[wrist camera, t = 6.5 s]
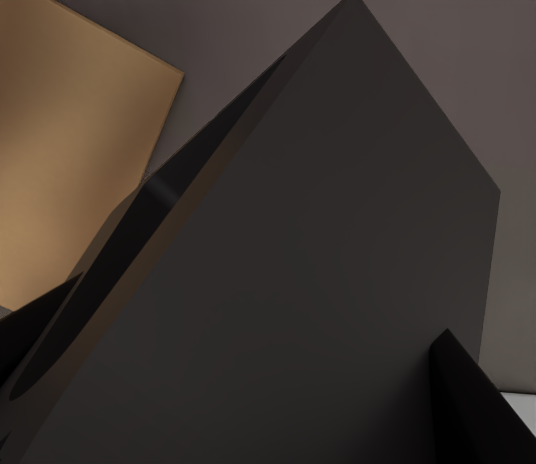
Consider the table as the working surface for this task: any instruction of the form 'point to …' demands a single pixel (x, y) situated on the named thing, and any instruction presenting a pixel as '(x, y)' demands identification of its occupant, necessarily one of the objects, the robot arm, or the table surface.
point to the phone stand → (273, 279)
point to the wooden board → (68, 137)
